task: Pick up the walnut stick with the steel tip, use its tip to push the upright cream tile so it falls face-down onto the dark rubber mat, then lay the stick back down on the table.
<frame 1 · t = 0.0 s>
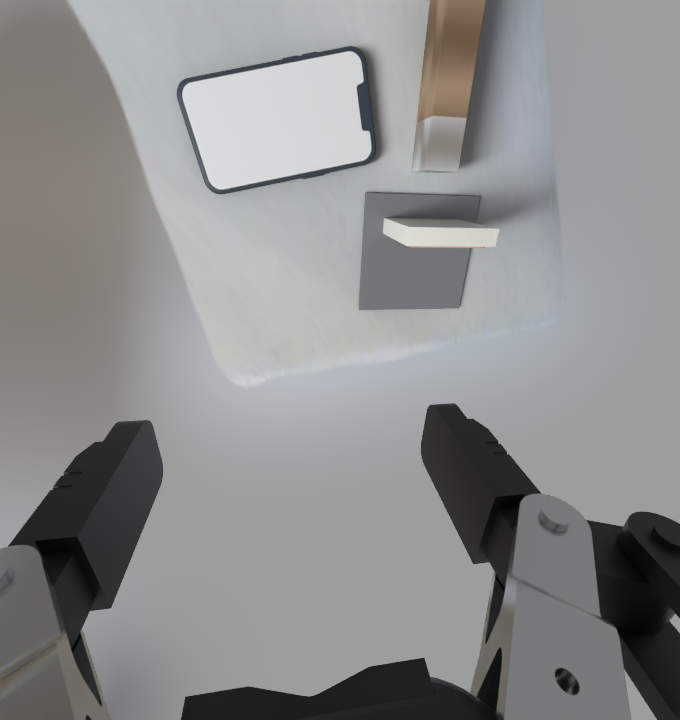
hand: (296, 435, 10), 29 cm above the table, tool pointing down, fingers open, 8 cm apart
mat: (415, 255, 38), on the table
phone case: (282, 127, 32), on the table
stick: (437, 84, 31), on the table
tile: (420, 226, 36), resting on mat
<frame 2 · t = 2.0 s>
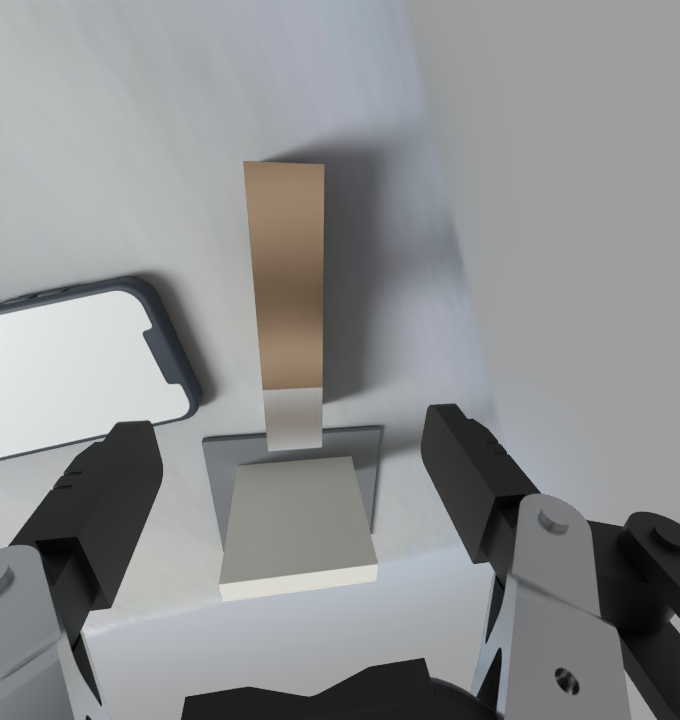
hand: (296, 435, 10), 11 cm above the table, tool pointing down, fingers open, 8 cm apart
mat: (296, 493, 27), on the table
phone case: (46, 371, 20), on the table
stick: (289, 306, 20), on the table
tile: (295, 468, 25), resting on mat
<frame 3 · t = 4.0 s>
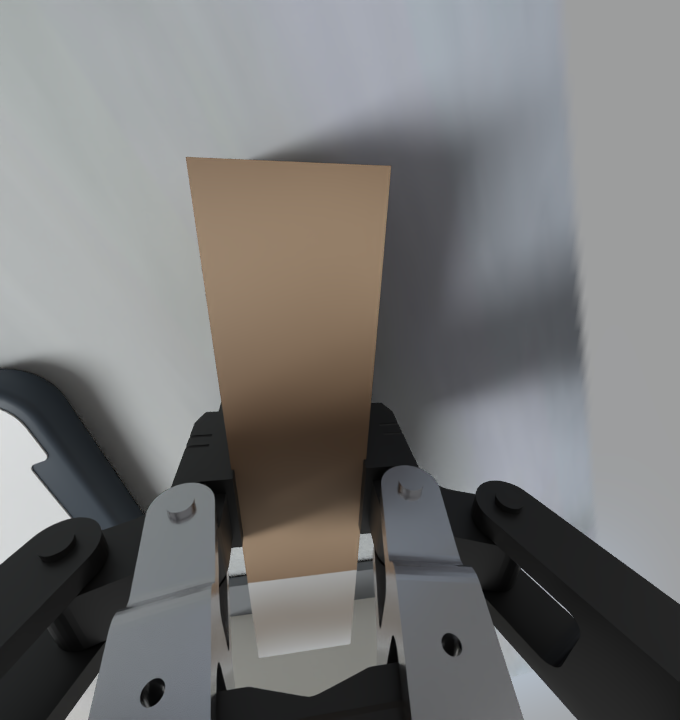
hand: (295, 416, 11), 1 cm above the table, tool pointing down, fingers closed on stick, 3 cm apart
mat: (302, 639, 19), on the table
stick: (296, 404, 12), on the table, touching gripper
tile: (302, 615, 17), resting on mat
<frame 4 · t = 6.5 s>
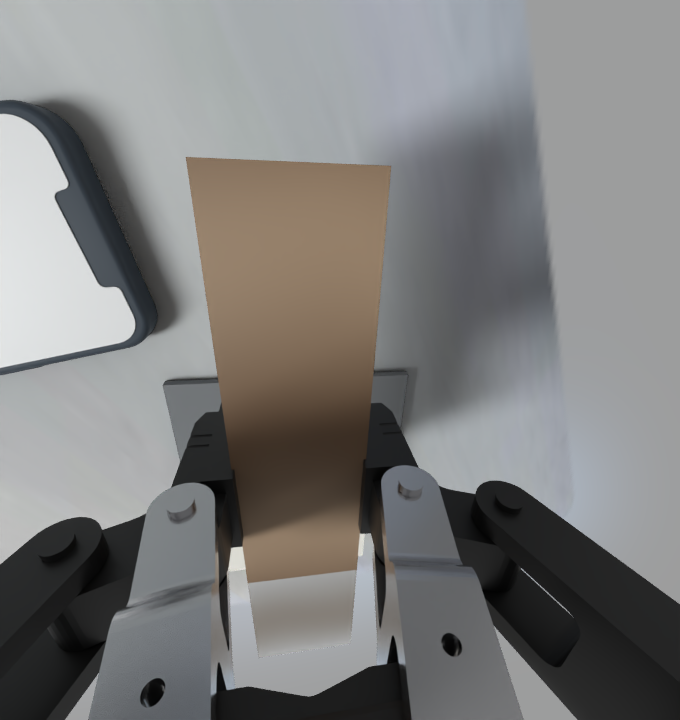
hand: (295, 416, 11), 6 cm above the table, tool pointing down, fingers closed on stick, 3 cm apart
mat: (294, 465, 20), on the table
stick: (296, 404, 12), point 6 cm above the table, touching gripper
tile: (294, 453, 18), point 1 cm above the table, tilted 90°, touching mat
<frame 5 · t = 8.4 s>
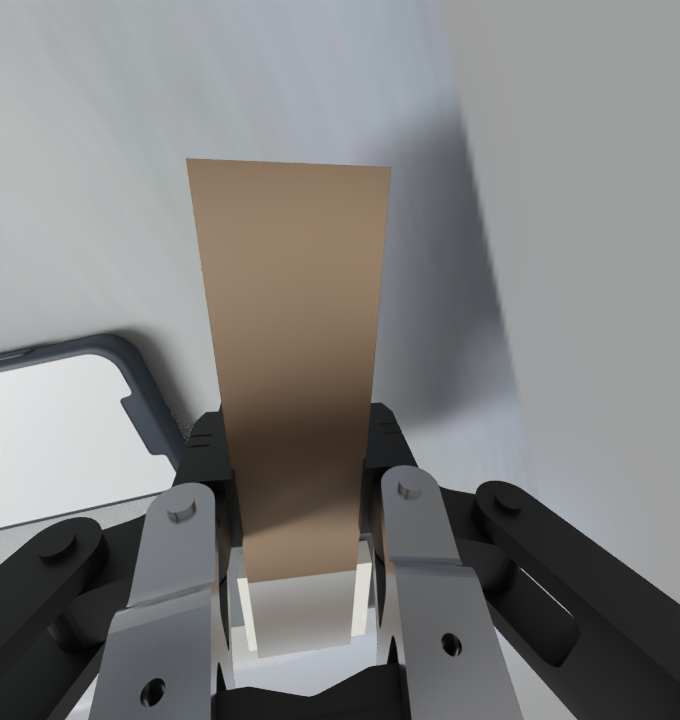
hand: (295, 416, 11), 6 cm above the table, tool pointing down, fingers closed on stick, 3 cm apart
mat: (305, 559, 24), on the table
phone case: (11, 437, 17), on the table
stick: (296, 404, 12), point 5 cm above the table, touching gripper
tile: (305, 558, 21), point 1 cm above the table, tilted 90°, touching mat
when the fingers open (2 cm above the table, at t = 9.8 s): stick drops 1 cm, on the table.
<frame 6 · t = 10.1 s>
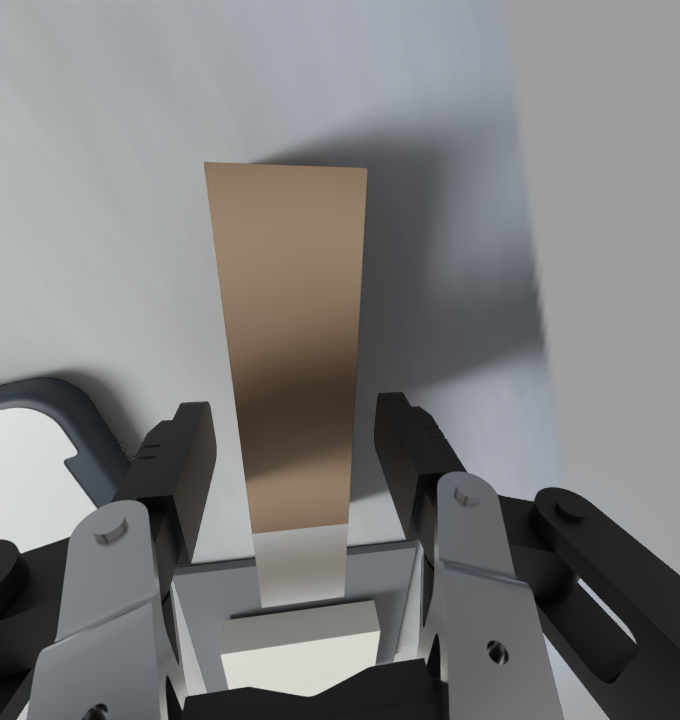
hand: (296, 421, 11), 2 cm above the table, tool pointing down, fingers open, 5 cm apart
mat: (301, 619, 20), on the table
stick: (294, 382, 13), on the table
tile: (302, 625, 18), point 1 cm above the table, tilted 90°, touching mat
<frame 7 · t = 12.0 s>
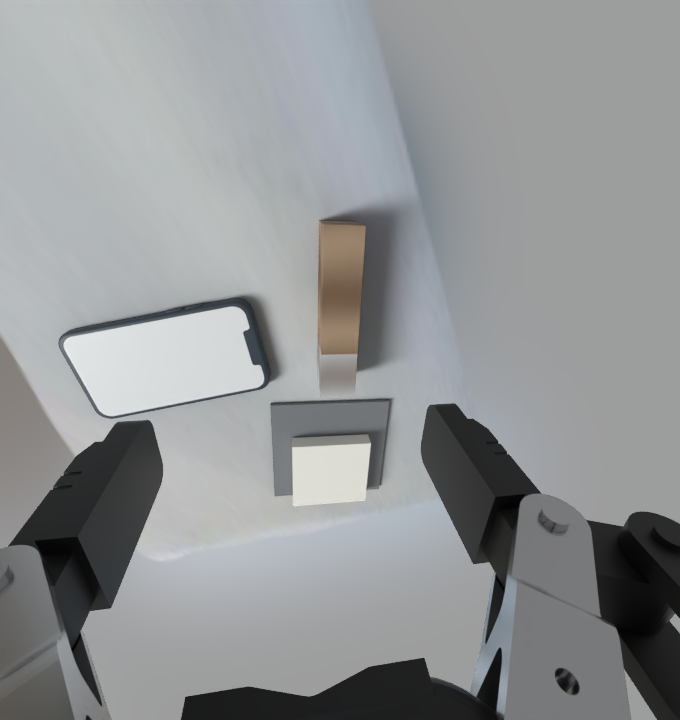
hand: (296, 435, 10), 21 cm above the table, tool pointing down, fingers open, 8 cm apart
mat: (329, 448, 38), on the table
phone case: (175, 355, 32), on the table
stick: (334, 305, 31), on the table
tile: (331, 440, 36), point 1 cm above the table, tilted 90°, touching mat
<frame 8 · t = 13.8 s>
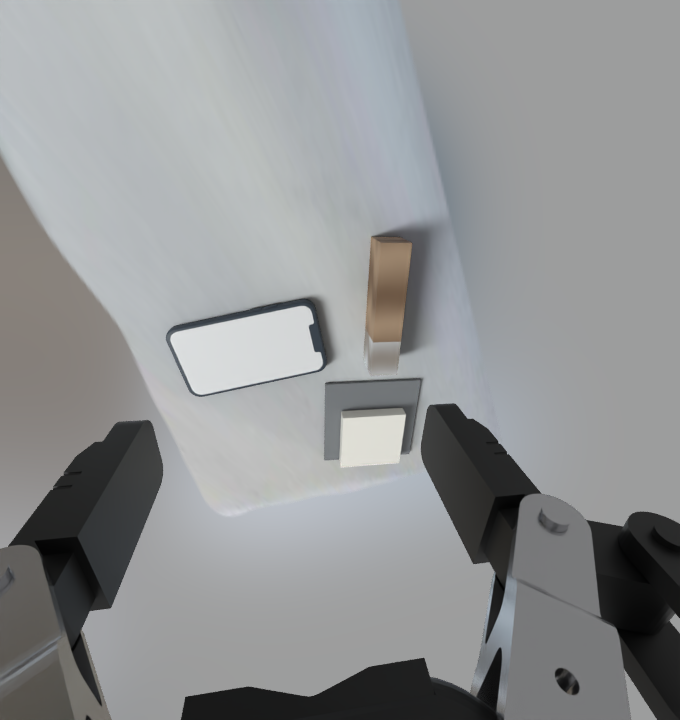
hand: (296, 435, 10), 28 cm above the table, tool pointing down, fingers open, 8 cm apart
mat: (370, 420, 46), on the table
phone case: (251, 345, 40), on the table
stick: (380, 302, 39), on the table
tile: (373, 412, 44), point 1 cm above the table, tilted 90°, touching mat
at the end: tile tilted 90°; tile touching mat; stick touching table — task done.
